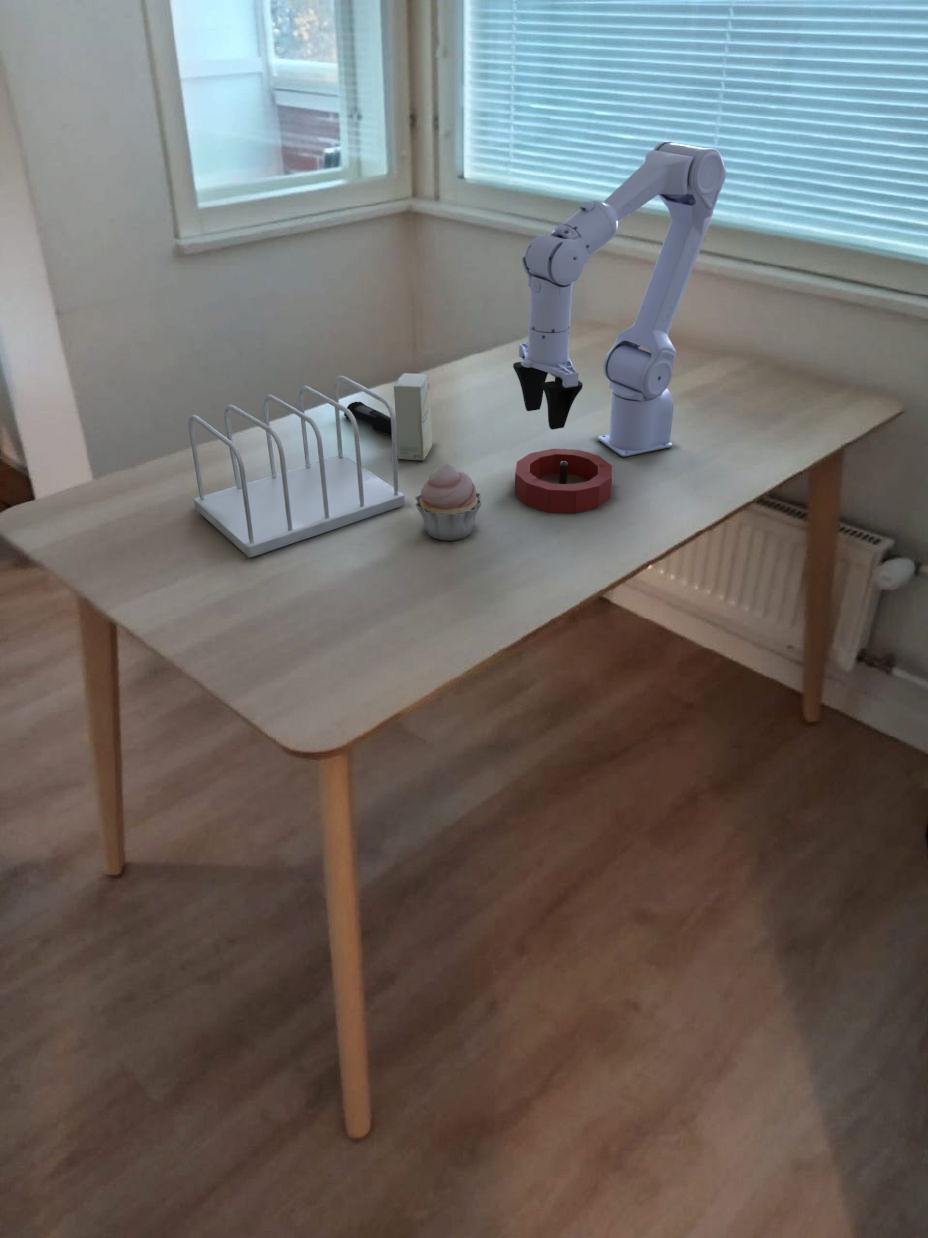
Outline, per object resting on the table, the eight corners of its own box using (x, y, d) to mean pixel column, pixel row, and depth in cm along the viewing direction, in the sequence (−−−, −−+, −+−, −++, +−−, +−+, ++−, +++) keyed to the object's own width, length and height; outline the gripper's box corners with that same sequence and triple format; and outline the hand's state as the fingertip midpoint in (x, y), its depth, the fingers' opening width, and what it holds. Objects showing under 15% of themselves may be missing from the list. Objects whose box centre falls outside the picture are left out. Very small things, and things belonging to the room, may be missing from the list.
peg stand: (573, 475, 146) (574, 446, 143) (599, 496, 140) (602, 466, 137) (526, 485, 143) (527, 455, 140) (551, 507, 137) (552, 477, 134)
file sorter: (249, 560, 126) (232, 451, 117) (195, 511, 137) (175, 408, 129) (406, 505, 138) (401, 403, 129) (344, 465, 150) (335, 368, 141)
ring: (580, 463, 149) (581, 442, 147) (628, 501, 138) (630, 478, 136) (499, 480, 144) (500, 458, 142) (542, 520, 134) (543, 497, 132)
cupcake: (487, 516, 135) (487, 451, 129) (476, 549, 127) (476, 482, 122) (423, 512, 136) (420, 447, 131) (408, 544, 129) (405, 477, 123)
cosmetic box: (423, 461, 150) (421, 387, 144) (396, 459, 151) (392, 385, 144) (432, 445, 155) (430, 373, 149) (406, 443, 156) (403, 371, 149)
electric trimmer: (398, 446, 156) (397, 428, 154) (342, 418, 165) (341, 401, 163) (416, 440, 158) (415, 422, 156) (359, 412, 167) (358, 395, 165)
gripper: (501, 315, 138) (499, 405, 145) (548, 345, 127) (543, 440, 134) (544, 310, 140) (540, 399, 148) (594, 338, 129) (586, 432, 137)
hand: (544, 418), depth 141 cm, fingers open, 7 cm apart
